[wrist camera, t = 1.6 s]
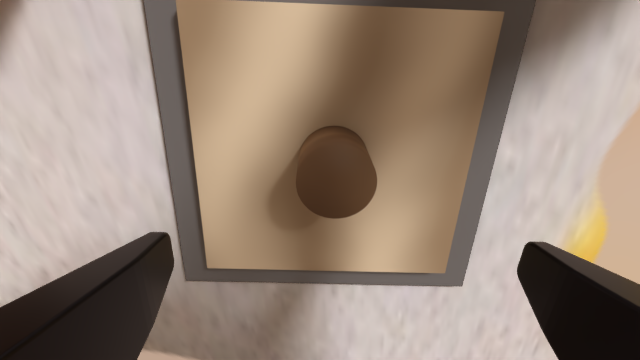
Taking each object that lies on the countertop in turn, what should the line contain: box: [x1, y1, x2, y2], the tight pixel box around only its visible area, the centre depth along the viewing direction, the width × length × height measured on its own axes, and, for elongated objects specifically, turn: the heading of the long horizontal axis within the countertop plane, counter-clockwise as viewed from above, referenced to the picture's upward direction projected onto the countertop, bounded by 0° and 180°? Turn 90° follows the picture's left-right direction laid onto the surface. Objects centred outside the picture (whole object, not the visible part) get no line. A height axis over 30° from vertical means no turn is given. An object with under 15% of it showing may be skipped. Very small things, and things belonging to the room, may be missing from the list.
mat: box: [144, 0, 536, 286], centre depth 16 cm, size 15×15×1 cm
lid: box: [176, 0, 504, 273], centre depth 14 cm, size 12×12×3 cm
